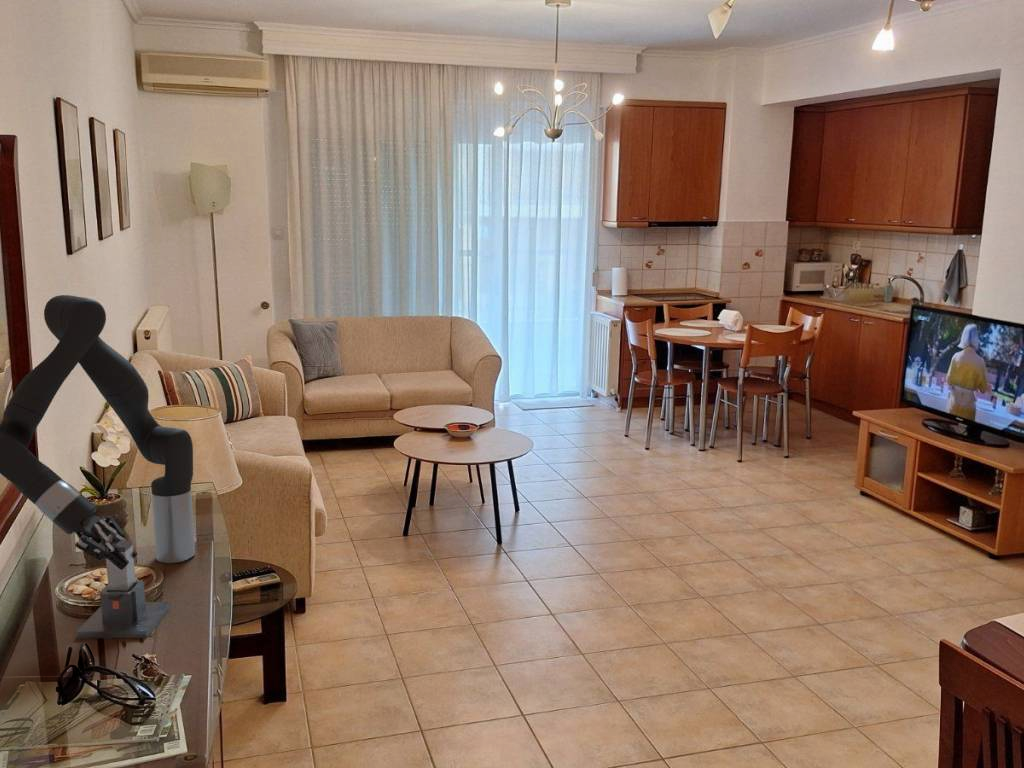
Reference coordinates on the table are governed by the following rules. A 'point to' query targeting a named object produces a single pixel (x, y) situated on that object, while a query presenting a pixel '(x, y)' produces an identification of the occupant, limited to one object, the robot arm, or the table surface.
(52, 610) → the table surface
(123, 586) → the post
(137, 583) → the stand
